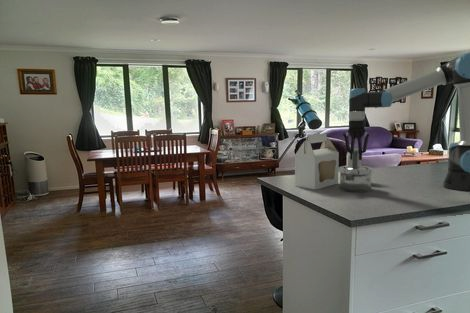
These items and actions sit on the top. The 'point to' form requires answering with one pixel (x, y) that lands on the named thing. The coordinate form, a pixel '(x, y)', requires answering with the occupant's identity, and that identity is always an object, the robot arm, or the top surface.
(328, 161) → the gable box
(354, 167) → the lid
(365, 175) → the pot
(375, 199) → the top surface
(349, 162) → the milk carton
